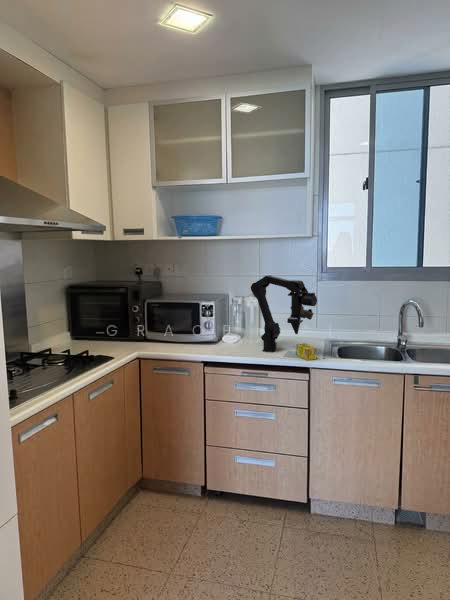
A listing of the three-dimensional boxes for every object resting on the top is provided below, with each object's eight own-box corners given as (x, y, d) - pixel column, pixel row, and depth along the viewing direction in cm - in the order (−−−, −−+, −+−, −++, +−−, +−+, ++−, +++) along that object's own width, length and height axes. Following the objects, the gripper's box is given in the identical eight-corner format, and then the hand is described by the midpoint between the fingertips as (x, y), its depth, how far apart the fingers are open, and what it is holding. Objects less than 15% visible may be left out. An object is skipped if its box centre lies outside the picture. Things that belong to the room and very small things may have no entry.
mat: (283, 356, 216) (283, 356, 216) (287, 351, 227) (287, 350, 227) (306, 358, 211) (306, 358, 211) (309, 352, 223) (309, 352, 222)
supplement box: (296, 344, 217) (306, 348, 206) (306, 343, 219) (316, 347, 208) (295, 355, 218) (306, 360, 207) (305, 354, 219) (316, 359, 209)
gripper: (309, 307, 202) (309, 338, 204) (315, 303, 220) (314, 331, 222) (287, 306, 206) (287, 337, 208) (294, 302, 224) (294, 330, 225)
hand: (296, 334), depth 216 cm, fingers closed
